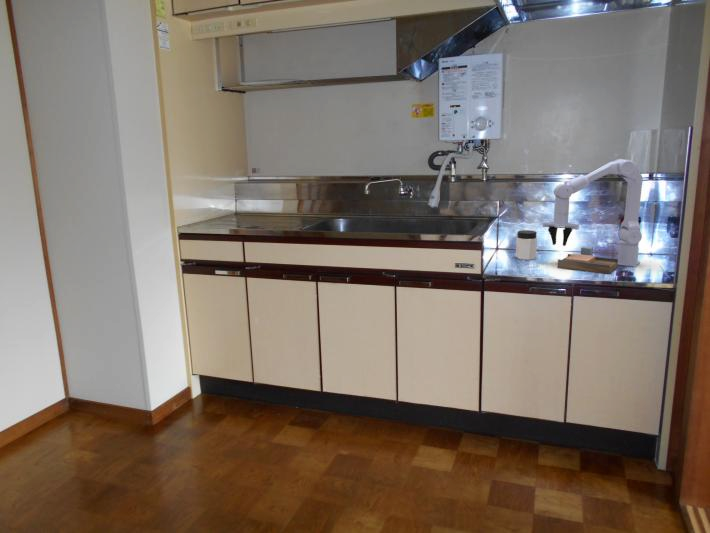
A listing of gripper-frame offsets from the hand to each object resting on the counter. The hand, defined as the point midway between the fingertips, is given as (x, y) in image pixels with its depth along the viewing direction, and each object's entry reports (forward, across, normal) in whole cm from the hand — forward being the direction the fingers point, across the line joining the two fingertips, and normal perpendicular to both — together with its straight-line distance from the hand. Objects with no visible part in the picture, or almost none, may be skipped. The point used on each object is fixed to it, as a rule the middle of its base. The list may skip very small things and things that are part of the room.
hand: (559, 244), depth 234 cm
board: (+8, +12, 0) cm, 15 cm away
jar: (+9, -16, +5) cm, 19 cm away
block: (+8, +8, +13) cm, 17 cm away
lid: (+6, +9, 0) cm, 11 cm away
